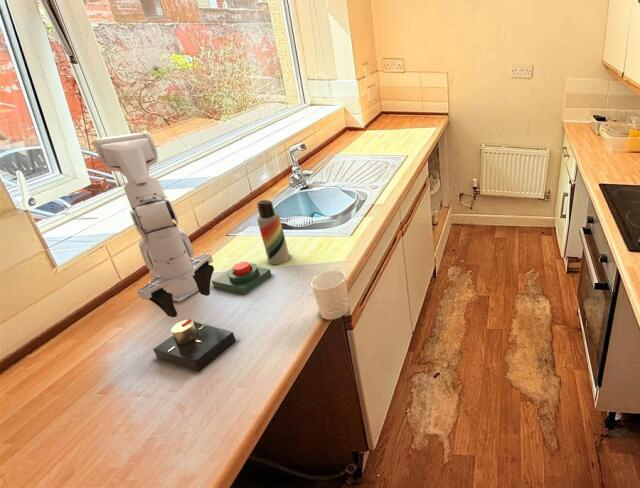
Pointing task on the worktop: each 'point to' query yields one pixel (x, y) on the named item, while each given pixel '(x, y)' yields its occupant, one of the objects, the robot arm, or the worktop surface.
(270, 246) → the lotion bottle
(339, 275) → the white cup
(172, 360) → the dial panel
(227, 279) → the button block
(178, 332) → the dial
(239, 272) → the button
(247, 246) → the worktop surface
